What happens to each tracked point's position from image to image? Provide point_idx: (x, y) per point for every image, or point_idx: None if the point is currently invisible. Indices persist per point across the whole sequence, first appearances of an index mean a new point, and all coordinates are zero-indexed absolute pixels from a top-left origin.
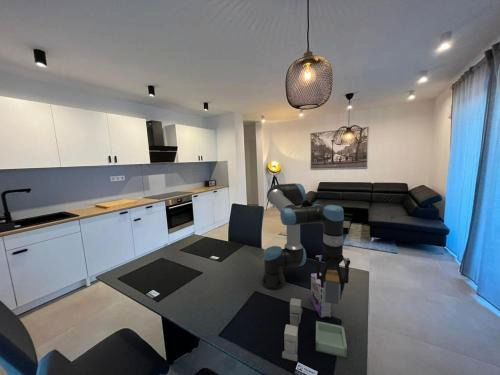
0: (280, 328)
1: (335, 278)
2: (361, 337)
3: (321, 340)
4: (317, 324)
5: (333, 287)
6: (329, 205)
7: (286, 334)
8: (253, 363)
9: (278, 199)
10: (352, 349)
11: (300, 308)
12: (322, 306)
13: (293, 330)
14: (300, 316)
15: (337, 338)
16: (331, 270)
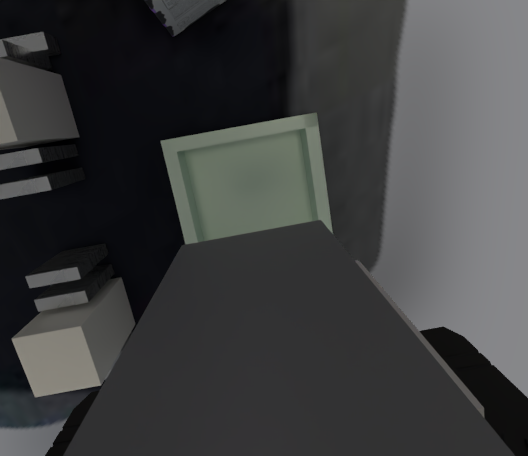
0: (3, 224)
1: None
2: (393, 92)
3: (213, 214)
4: (174, 166)
5: None
6: None
7: (49, 391)
8: (3, 422)
9: None
10: (349, 188)
11: (29, 119)
12: (167, 8)
13: (70, 359)
14: (61, 117)
15: (283, 166)
16: None
